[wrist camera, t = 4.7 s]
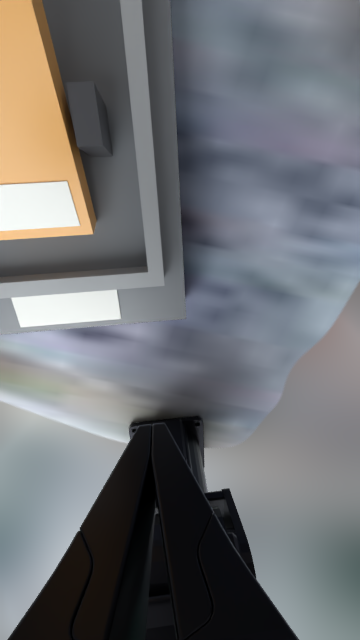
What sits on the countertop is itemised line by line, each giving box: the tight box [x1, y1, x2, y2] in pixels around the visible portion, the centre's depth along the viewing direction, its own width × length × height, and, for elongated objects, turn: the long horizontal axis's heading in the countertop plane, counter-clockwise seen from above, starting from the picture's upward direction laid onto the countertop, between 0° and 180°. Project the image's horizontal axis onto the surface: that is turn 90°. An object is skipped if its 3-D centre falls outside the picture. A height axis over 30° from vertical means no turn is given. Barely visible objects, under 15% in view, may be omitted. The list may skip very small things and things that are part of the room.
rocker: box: [0, 0, 97, 240], centre depth 11 cm, size 9×5×2 cm, turn 4°
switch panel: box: [0, 0, 186, 335], centre depth 13 cm, size 20×14×6 cm
